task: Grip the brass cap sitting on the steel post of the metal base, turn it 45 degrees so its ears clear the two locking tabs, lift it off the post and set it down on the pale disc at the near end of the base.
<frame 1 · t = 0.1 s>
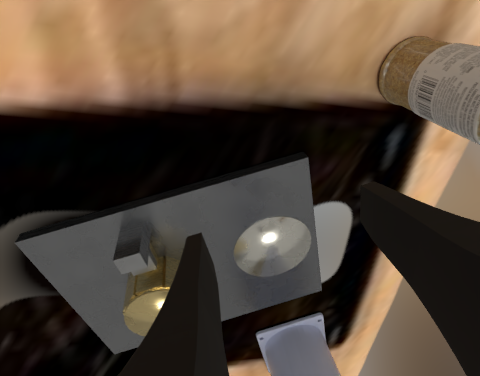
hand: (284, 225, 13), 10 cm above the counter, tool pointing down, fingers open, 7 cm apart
cap: (163, 280, 26), point 1 cm above the counter, touching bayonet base
sprinkles bottle: (404, 69, 21), on the counter
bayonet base: (195, 262, 27), on the counter
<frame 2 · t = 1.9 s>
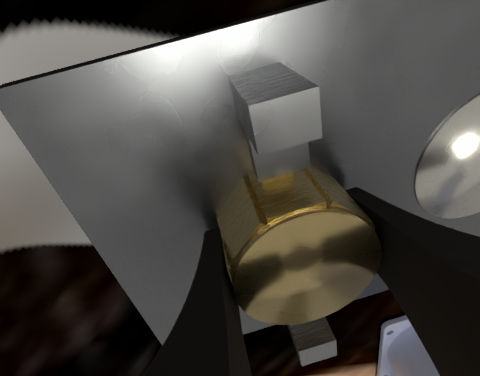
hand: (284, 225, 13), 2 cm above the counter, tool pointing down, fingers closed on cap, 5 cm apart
cap: (280, 217, 14), point 1 cm above the counter, touching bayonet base, gripper
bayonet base: (333, 187, 15), on the counter
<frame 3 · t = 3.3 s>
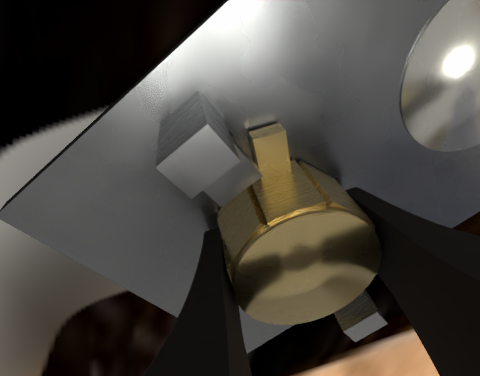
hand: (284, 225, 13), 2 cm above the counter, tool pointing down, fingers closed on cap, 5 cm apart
cap: (280, 217, 14), point 1 cm above the counter, touching gripper
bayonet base: (324, 165, 14), on the counter
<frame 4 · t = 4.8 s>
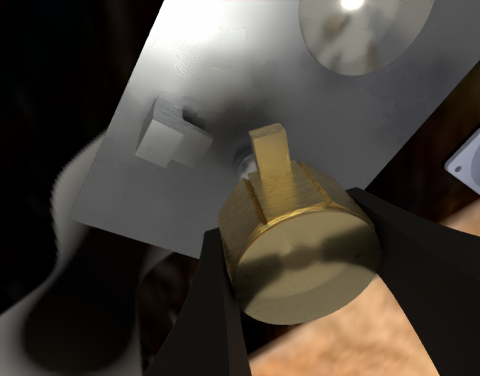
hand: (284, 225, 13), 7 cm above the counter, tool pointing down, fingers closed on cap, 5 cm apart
cap: (280, 217, 14), point 6 cm above the counter, touching gripper
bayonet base: (278, 116, 18), on the counter
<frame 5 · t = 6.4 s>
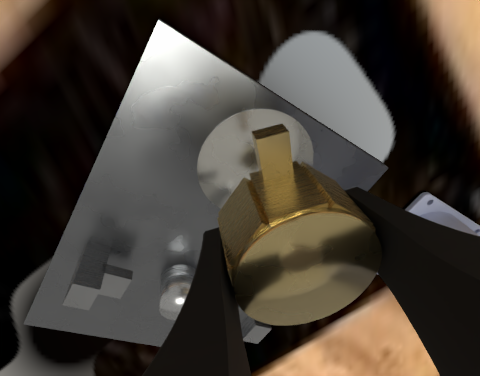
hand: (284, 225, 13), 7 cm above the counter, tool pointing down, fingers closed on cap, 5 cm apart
cap: (280, 218, 14), point 6 cm above the counter, touching gripper
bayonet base: (198, 238, 21), on the counter
when the fingers open (2 cm above the counter, at t = 7.7 s): cap stays where it is, resting on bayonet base.
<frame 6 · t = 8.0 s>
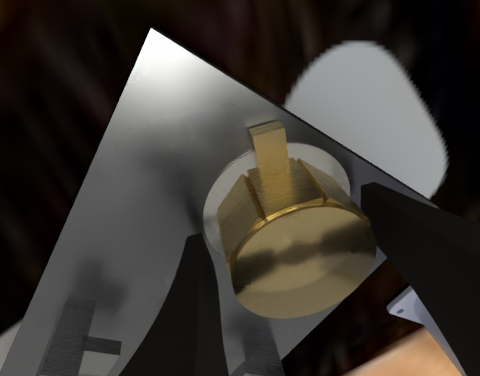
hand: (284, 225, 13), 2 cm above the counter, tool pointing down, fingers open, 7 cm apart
cap: (278, 214, 14), point 1 cm above the counter, touching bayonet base
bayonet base: (203, 291, 17), on the counter
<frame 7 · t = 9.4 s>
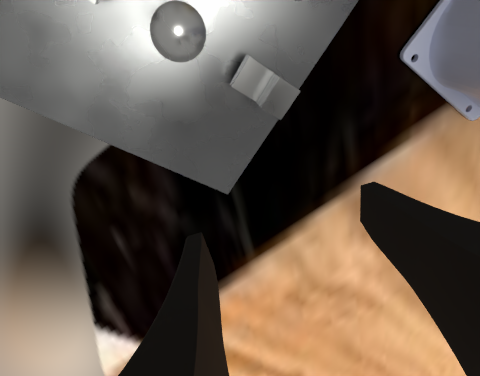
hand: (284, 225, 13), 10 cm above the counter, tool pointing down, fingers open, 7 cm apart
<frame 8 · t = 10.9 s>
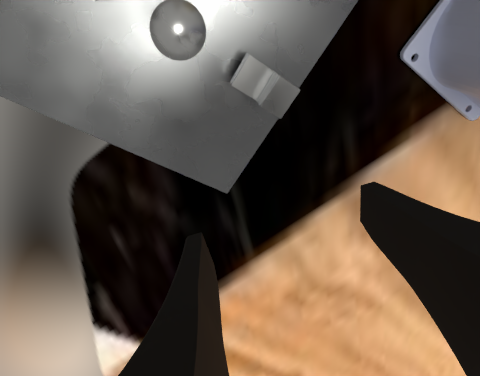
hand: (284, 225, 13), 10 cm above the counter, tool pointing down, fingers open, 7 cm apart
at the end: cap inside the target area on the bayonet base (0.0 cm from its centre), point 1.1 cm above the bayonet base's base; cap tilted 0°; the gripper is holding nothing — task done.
